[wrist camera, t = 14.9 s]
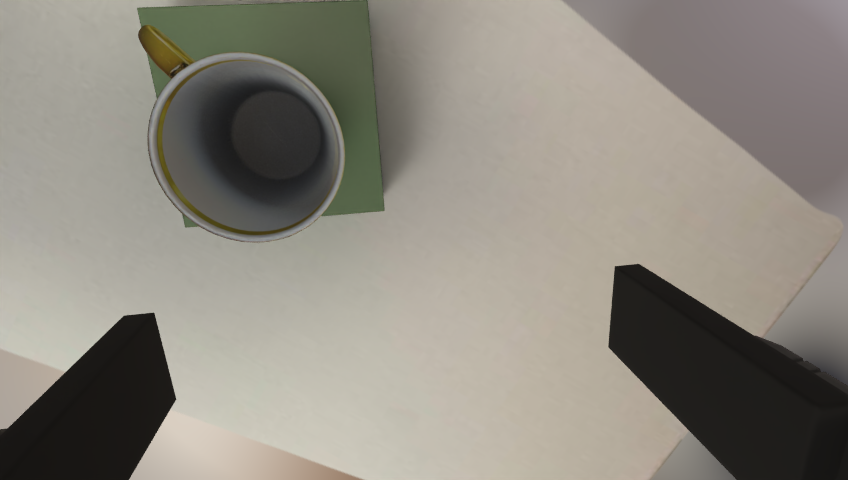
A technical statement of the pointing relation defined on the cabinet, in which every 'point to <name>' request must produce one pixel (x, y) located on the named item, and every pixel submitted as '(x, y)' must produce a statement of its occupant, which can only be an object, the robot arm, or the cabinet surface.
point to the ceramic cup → (242, 142)
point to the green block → (309, 54)
